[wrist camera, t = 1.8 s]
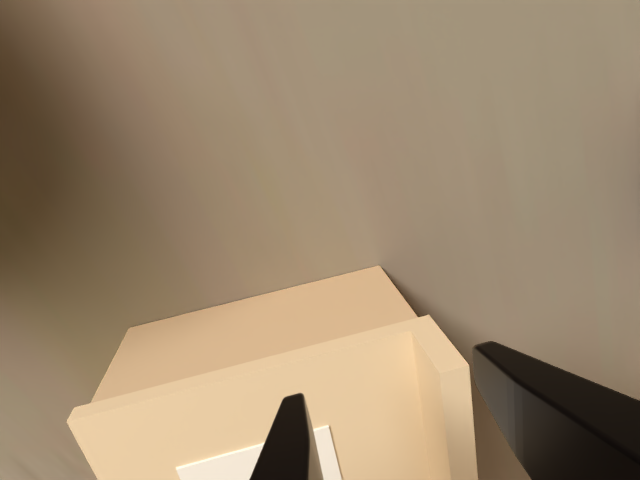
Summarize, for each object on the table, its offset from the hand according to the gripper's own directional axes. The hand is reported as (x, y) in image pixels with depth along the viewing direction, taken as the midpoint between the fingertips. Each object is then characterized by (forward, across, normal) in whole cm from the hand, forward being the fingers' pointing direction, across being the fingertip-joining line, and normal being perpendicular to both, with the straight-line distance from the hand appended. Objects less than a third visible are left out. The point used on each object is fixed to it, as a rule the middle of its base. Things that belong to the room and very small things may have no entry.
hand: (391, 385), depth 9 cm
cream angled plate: (+7, +4, +8) cm, 11 cm away
